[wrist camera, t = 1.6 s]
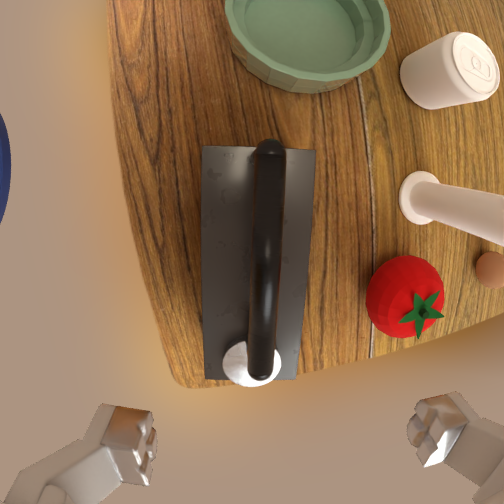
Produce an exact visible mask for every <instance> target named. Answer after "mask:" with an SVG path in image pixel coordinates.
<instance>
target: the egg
mask: <svg viewBox="0 0 504 504" xmlns="http://www.w3.org/2000/svg"><path fill="white" fill-rule="evenodd" d="M476 274H477V277H478V279H479V281H480V282H481V283H482V284H483V285H484V286H486V287H488V288H492V289H496V288H501V287H504V256H503V255H501V254H499V253H497V252H492V251H491V252H487V253H485V254H483V255H482V256H481V257H480V258H479V259H478V261H477V264H476Z"/></svg>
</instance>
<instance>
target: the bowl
mask: <svg viewBox="0 0 504 504" xmlns="http://www.w3.org/2000/svg"><path fill="white" fill-rule="evenodd" d="M225 22H226V32H227V36H228V39H229V42H230V45H231V48H232V51H233V53H234V54H235V55H236V57H237V58H238V59H239V60H240V62H241V63H242V64H243V66H244V67H245V68H246V69H247V70H248V71H250V72H251V73H252V74H254V75H255V76H257V77H258V78H259V79H261V80H262V81H264V82H265V83H267V84H270V85H273V86H275V87H278V88H281V89H284V90H286V91H289V92H299V93H309V94H315V93H320V92H325V91H331V90H335V89H337V88H339V87H341V86H343V85H345V84H346V83H348V82H350V81H352V80H353V79H355V78H356V77H358V76H359V75H361V74H362V73H364V72H366V71H367V70H369V69H370V68H372V67H373V66H374V64H375V63H376V62H377V61H378V60H379V59H380V57H381V56H382V55H383V54H384V53H385V51H386V48H387V44H388V41H389V38H390V34H391V27H390V18H389V12H388V9H387V7H386V5H385V3H384V1H383V0H225Z"/></svg>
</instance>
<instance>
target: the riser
mask: <svg viewBox="0 0 504 504" xmlns="http://www.w3.org/2000/svg"><path fill="white" fill-rule="evenodd" d="M255 149H256V147H252V146H202V167H201V291H202V325H203V350H204V371H205V379H212V380H230V379H229V378H228V377H227V376H226V374H225V372H224V370H223V365H222V363H223V353H224V351H225V349H226V347H227V346H228V344H229V343H231V342H232V341H233V340H234V339H236V338H238V337H241V336H244V335H247V334H248V331H249V302H250V273H251V244H252V215H253V187H254V165H253V164H252V162H251V159H250V157H251V154H252V152H253V151H254V150H255ZM285 149H286V152H287V161H286V184H285V205H284V224H283V242H282V258H281V274H280V289H279V303H278V317H277V330H276V343H275V345H276V346H277V347H278V349H279V352H280V357H281V368H280V371H279V373H278V374H277V376H276V377H275V378H274V379H273V380H294V379H296V373H297V366H298V358H299V350H300V342H301V333H302V325H303V316H304V306H305V297H306V287H307V276H308V265H309V254H310V241H311V228H312V214H313V198H314V180H315V160H316V150H306V149H292V148H285Z"/></svg>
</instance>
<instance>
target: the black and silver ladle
mask: <svg viewBox="0 0 504 504" xmlns="http://www.w3.org/2000/svg"><path fill="white" fill-rule="evenodd" d="M250 159H251V162H252V164H253V165H254V187H253V215H252V244H251V273H250V302H249V331H248V334H247V335H244V336H241V337H238V338H236V339H234V340H233V341H232V342H231V343H229V344H228V346H227V347H226V349H225V351H224V353H223V363H222V365H223V370H224V372H225V374H226V376H227V377H228V378H229V379H230V380H231V381H233V382H234V383H236V384H238V385H241V386H246V387H256V386H261V385H264V384H266V383H268V382H270V381H271V380H273V379H274V378H275V377H276V376H277V374H278V373H279V371H280V368H281V357H280V352H279V349H278V347H277V346H276V345H275V343H276V330H277V317H278V303H279V289H280V274H281V258H282V242H283V224H284V205H285V184H286V161H287V152H286V149H285V147H284V145H283V144H282V143H281V142H280V141H278V140H275V139H266V140H263V141H262V142H260V143H259V144H258V145H257V147H256V149H255V150H254V151H253V152H252V154H251V157H250Z"/></svg>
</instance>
